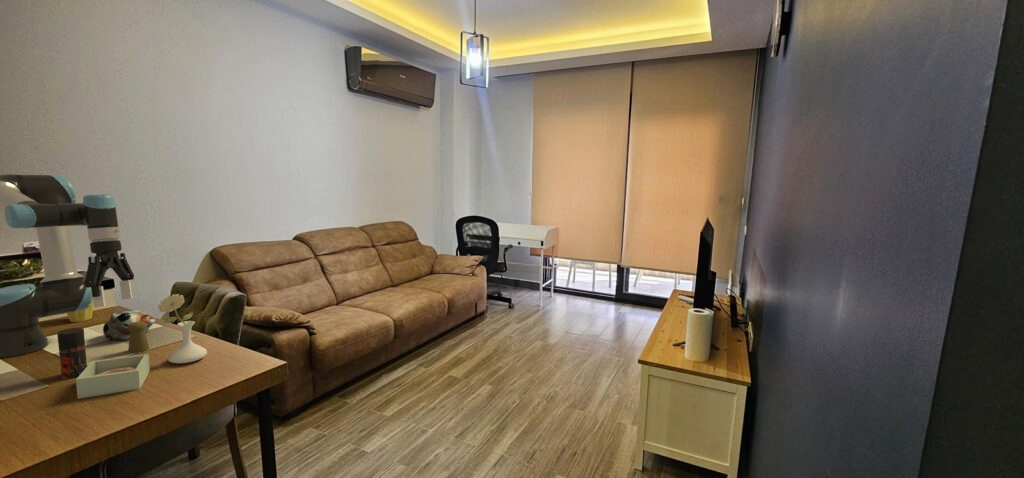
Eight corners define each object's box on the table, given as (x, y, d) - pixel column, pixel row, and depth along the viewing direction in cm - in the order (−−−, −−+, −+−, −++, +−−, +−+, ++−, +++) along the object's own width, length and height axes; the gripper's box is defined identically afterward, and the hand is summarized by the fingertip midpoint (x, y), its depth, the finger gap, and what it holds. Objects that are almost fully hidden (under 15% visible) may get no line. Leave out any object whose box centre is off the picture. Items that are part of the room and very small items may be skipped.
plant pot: (56, 322, 181) (54, 300, 179) (84, 315, 191) (82, 294, 189) (76, 324, 179) (74, 302, 178) (103, 317, 189) (101, 296, 188)
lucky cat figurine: (151, 327, 180) (160, 302, 177) (147, 346, 172) (156, 320, 168) (104, 323, 170) (113, 296, 167) (97, 344, 162) (106, 316, 158)
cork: (153, 347, 160) (151, 320, 159) (138, 354, 154) (136, 325, 153) (139, 346, 161) (137, 319, 159) (123, 352, 155) (121, 324, 153)
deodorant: (91, 372, 139) (88, 329, 137) (68, 380, 133) (63, 335, 131) (81, 369, 141) (77, 326, 139) (57, 376, 135) (52, 332, 133)
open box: (93, 378, 135) (92, 361, 134) (149, 370, 142) (148, 353, 142) (77, 398, 123) (75, 379, 123) (139, 388, 130) (138, 370, 130)
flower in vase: (204, 350, 160) (201, 287, 156) (210, 360, 152) (206, 294, 148) (160, 359, 151) (155, 292, 147) (163, 370, 143) (159, 300, 139)
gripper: (91, 241, 129) (101, 308, 131) (141, 237, 154) (149, 294, 155) (61, 243, 128) (72, 311, 129) (116, 239, 152) (125, 297, 153)
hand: (114, 302), depth 142 cm, fingers open, 13 cm apart
